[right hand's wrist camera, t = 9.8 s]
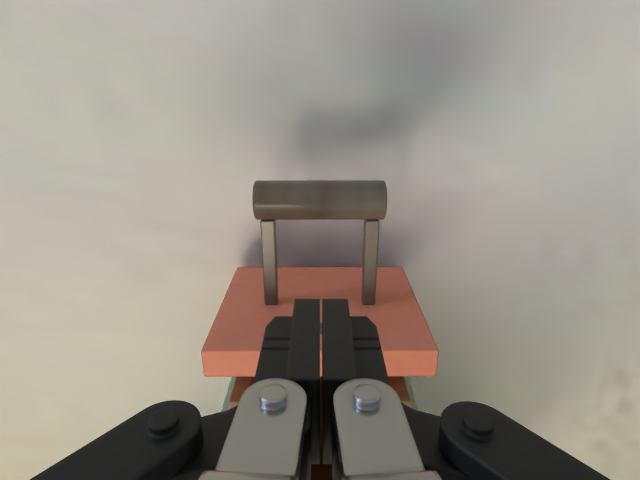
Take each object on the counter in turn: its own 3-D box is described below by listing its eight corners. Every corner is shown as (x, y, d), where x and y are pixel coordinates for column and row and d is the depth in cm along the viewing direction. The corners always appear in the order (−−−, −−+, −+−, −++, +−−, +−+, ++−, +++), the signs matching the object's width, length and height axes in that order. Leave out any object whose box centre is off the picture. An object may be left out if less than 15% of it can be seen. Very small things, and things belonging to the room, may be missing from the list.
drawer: (229, 163, 22) (184, 206, 15) (409, 163, 22) (455, 206, 15) (249, 441, 28) (225, 570, 21) (390, 441, 28) (415, 569, 21)
